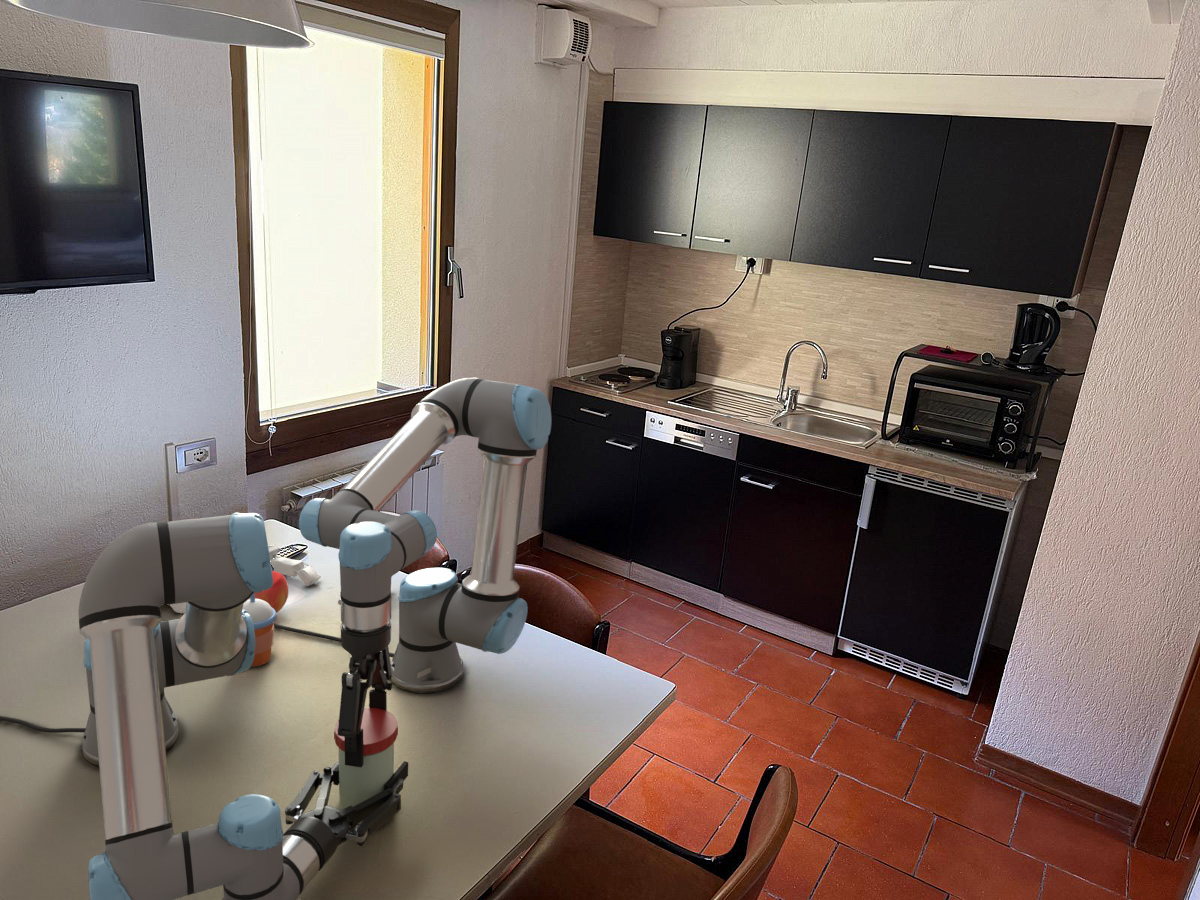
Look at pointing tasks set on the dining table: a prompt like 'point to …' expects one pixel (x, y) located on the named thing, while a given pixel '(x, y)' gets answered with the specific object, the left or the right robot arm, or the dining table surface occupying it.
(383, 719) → the lid
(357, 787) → the jar
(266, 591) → the apple
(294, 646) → the dining table surface
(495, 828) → the dining table surface
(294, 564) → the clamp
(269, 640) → the cup with straw
